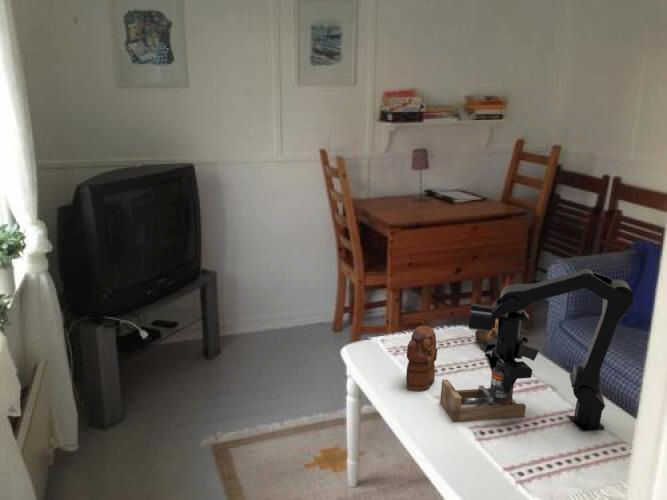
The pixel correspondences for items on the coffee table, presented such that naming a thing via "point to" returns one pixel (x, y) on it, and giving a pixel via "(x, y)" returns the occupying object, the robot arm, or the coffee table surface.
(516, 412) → the wooden tray
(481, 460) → the coffee table surface
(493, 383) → the supplement bottle
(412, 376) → the wooden figurine
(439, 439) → the coffee table surface
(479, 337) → the decorative rock
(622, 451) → the coffee table surface
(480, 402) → the pusher
